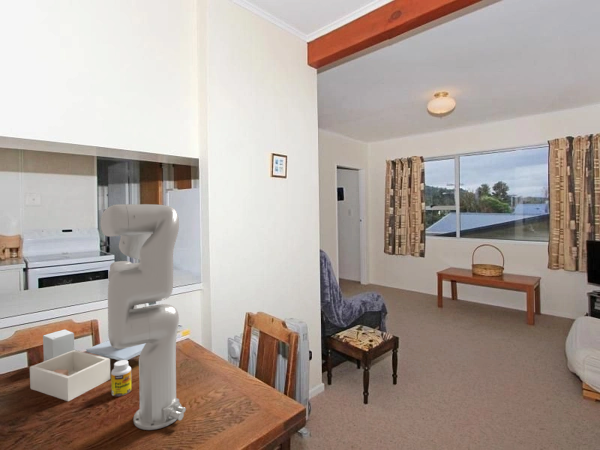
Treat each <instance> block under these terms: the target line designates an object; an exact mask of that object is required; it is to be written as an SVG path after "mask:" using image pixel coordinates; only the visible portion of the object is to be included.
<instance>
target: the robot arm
mask: <svg viewBox="0 0 600 450" xmlns="http://www.w3.org/2000/svg"><path fill="white" fill-rule="evenodd" d="M178 214H179V213H178V212H177V210H176V209H175V208H174V207H172V206H170V205H165V204H151V203H150V204H149V203H143V204H142V203H141V204H140V203H139V204H137V203H136V204H134V203H133V204H132V203H131V204H130V203H129V204H128V203H127V204H125V203H124V204H122V203H121V204H113V205H110V206H109V207H107V208H106V209H105V210H104V211H103V213H102V214H101V218H100V229H101V232H102V235H104V236H106V237H120V239H119V244H118V249H119V251H120V253H122V254H123V255H124V256H126V257H128V258H131V259H135V260H138V261H139V262H135V263H134V262H132V261H128V260H120V261H119V260H118V261H113V262H112V263H111V264H110V265H109V271H108V274H107V275H108V285H107V332H108V333H107V335H108V336H107V337H108V340H109V341H110V344H111V345H112V347H114V348H116V349H123V348H128V347H132V346H137V345H141V344H145V343H146V344H145V346H144V347H143V349H142V351H141V354H139V357H138V379H139V381H138V382H139V383H138V384H139V388H138V389H139V393H138V395H139V409H138V410H136V412H135V413H134V414H133V415H134V416H133V425H134V426H135V427H136V428H138V429H140V430H144V431H145V430H146V431H154V430H159V429H162V428H166V427H168V426H170V425H171V424H173V423H175V422H176V421H177V420H178V421H182V420H183V419H184V416H185V415H184V413H186V410H187V408H186V407H184V406H182V404H181V403H180V398H177V367H176V366H177V365H176V363H177V362H176V361H177V351H176V349H177V347H176V346H177V335H178V330H179V324H180V314H179V312H178V310H177V308H176V307H175V306H174V305H171V304H166V303H164V304H163V303H161V304H154V305H150V306H149V305H148V306H143V307H137V306H139V305H145V304H150V303H157V302H161V301H164V300H167V299H169V298H170V297H171V295H172V294H173V290H174V289H173V288H174V249H175V245H176V241H177V238H178V234H179V228H180V218H179V215H178Z"/></svg>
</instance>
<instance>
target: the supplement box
mask: <svg viewBox="0 0 600 450" xmlns="http://www.w3.org/2000/svg"><path fill="white" fill-rule="evenodd" d="M42 345H43V347H42V349H43V362H44V361H47V360H49V359H52V358H54V357H57V356H59V355H62V354H65V353H67V352H70V351H72V350H75V333H74V332H72V331H69V330H67V329H61V330H58V331H54V332H51V333H47V334H44V335H42Z"/></svg>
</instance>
